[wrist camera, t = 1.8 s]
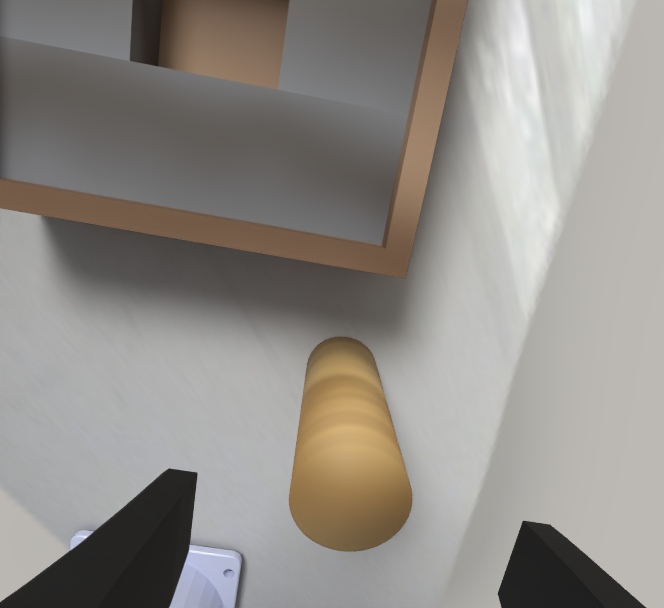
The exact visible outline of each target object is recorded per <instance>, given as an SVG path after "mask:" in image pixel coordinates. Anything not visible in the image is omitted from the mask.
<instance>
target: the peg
mask: <svg viewBox="0 0 664 608" xmlns="http://www.w3.org/2000/svg"><path fill="white" fill-rule="evenodd" d="M289 506H290V511H291V514H292V517H293V519H294V521H295V523H296V525H297V526H298V527H299V529H300V530H301V531H302V532H303V533H304V534H305V535H306V536H307V537H308V538H310V539H311V540H312V541H314V542H316V543H317V544H319V545H322V546H324V547H326V548H330V549H333V550H338V551H361V550H366V549H370V548H373V547H376V546H378V545H380V544H382V543H384V542H386V541H387V540H389V539H390V538H392V537H393V536H394V535H395V534H396V533H397V532H398V531H399V530H400V529H401V528H402V526H403V525H404V524H405V522H406V520H407V518H408V516H409V513H410V510H411V506H412V490H411V486H410V482H409V479H408V475H407V472H406V468H405V465H404V461H403V458H402V454H401V451H400V447H399V444H398V440H397V437H396V433H395V430H394V426H393V423H392V419H391V416H390V412H389V409H388V405H387V402H386V398H385V395H384V391H383V388H382V384H381V380H380V377H379V373H378V370H377V366H376V363H375V359H374V357H373V354H372V353H371V351H370V350H369V349H368V347H366V346H365V345H364V344H363V343H362V342H360V341H358V340H356V339H353V338H350V337H333V338H330V339H327V340H325V341H323V342H322V343H320V344H319V345H318V346H317V347H316V348H315V349H314V350H313V351H312V353H311V354H310V356H309V359H308V362H307V369H306V376H305V383H304V391H303V398H302V405H301V413H300V420H299V427H298V435H297V442H296V449H295V457H294V464H293V472H292V479H291V486H290V494H289Z"/></svg>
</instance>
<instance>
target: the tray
mask: <svg viewBox="0 0 664 608" xmlns="http://www.w3.org/2000/svg"><path fill="white" fill-rule="evenodd" d="M467 2H468V0H0V208H2V209H8V210H14V211H19V212H25V213H31V214H37V215H43V216H48V217H54V218H60V219H66V220H71V221H77V222H83V223H89V224H94V225H100V226H106V227H112V228H117V229H123V230H129V231H135V232H140V233H146V234H152V235H158V236H163V237H169V238H175V239H181V240H187V241H192V242H198V243H204V244H210V245H215V246H221V247H227V248H233V249H238V250H244V251H250V252H256V253H261V254H267V255H273V256H279V257H284V258H290V259H296V260H302V261H307V262H313V263H319V264H325V265H331V266H336V267H342V268H348V269H354V270H359V271H365V272H371V273H377V274H382V275H388V276H394V277H400V278H405V279H406V275H407V270H408V266H409V261H410V257H411V253H412V248H413V244H414V239H415V235H416V230H417V226H418V221H419V217H420V212H421V208H422V203H423V199H424V194H425V190H426V185H427V181H428V176H429V172H430V167H431V163H432V158H433V154H434V150H435V145H436V141H437V136H438V132H439V127H440V123H441V118H442V114H443V109H444V105H445V100H446V96H447V91H448V87H449V82H450V78H451V73H452V69H453V64H454V60H455V55H456V51H457V46H458V42H459V38H460V33H461V29H462V24H463V20H464V15H465V11H466V6H467Z"/></svg>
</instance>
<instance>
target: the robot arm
mask: <svg viewBox="0 0 664 608" xmlns="http://www.w3.org/2000/svg"><path fill="white" fill-rule="evenodd" d="M196 483H197V473H196V472H189V471H183V470H176V469H168V470H166V471H165V472H163V473H162V474H161V475H160V476H159V477H157V478H156V479H155V480H154V481H153V482H152V483H151V484H150V485H148V486H147V487H146V488H145V489H144V490H143V491H142V492H141V493H139V494H138V495H137V496H136V497H135V498H134V499H133V500H131V501H130V502H129V503H128V504H127V505H126V506H124V507H123V508H122V509H121V510H120V511H119V512H117V513H116V514H115V515H114V516H113V517H111V518H110V519H109V520H108V521H106V522H105V523H104V524H103V525H102V526H100V527H99V528H98V529H97V530H95V531H87V530H81V531H78V532H77V533H76V534H75V535H74V537H73V538H72V539H71V543H70V551H69V552H68V553H66V554H65V555H64V556H62V557H61V558H60V559H58V560H57V561H56V562H54V563H53V564H52V565H51V566H49V567H48V568H46V569H45V570H44V571H43V572H41V573H40V574H39V575H37V576H36V577H35V578H33V579H32V580H31V581H29V582H28V583H27V584H25V585H24V586H22V587H21V588H20V589H18V590H17V591H16V592H14V593H12V594H11V595H10V596H8V597H7V598H5V599H4V600H3V601H1V602H0V608H235V603H236V597H237V590H238V583H239V577H240V570H241V563H242V557H241V555H240V554H239V553H238V552H236V551H232V550H225V549H217V548H210V547H203V546H196V545H190V538H191V528H192V519H193V510H194V501H195V492H196ZM227 569H230V570H232V571H229V570H227ZM498 596H499V600H500V604H501V607H502V608H646V607H645V606H644V605H642V604H641V603H640V602H639V601H638V600H637V599H636V598H634V597H633V596H632V595H631V594H630V593H629V592H628V591H627V590H625V589H624V588H623V587H622V586H621V585H620V584H619V583H617V582H616V581H615V580H614V579H613V578H612V577H611V576H609V575H608V574H607V573H606V572H605V571H604V570H602V569H601V568H600V567H599V566H598V565H597V564H596V563H595V562H594V561H592V560H591V559H590V558H589V557H588V556H587V555H586V554H584V553H583V552H582V551H581V550H580V549H579V548H577V547H576V546H575V545H574V544H573V543H572V542H570V541H569V540H568V539H567V538H566V537H565V536H563V535H562V534H561V533H560V532H558V531H557V530H556V529H555V528H553V527H552V526H551V525H548V524H542V523H535V522H528V521H523V522H522V525H521V528H520V531H519V534H518V537H517V540H516V542H515V545H514V548H513V551H512V554H511V557H510V560H509V563H508V565H507V568H506V571H505V574H504V577H503V580H502V583H501V586H500V588H499V591H498Z"/></svg>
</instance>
